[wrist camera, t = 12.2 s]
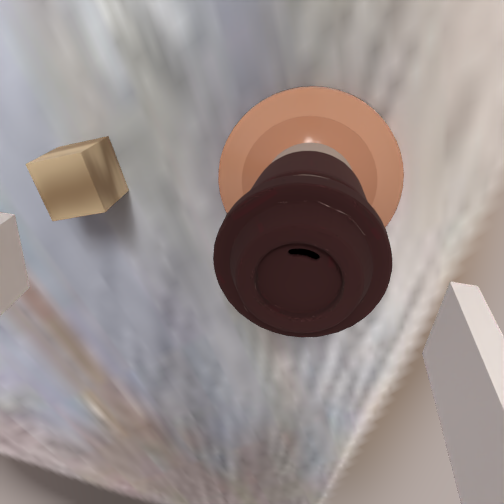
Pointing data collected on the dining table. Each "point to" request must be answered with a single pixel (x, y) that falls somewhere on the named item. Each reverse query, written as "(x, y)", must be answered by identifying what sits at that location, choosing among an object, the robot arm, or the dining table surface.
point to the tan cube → (79, 179)
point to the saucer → (314, 131)
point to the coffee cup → (304, 246)
